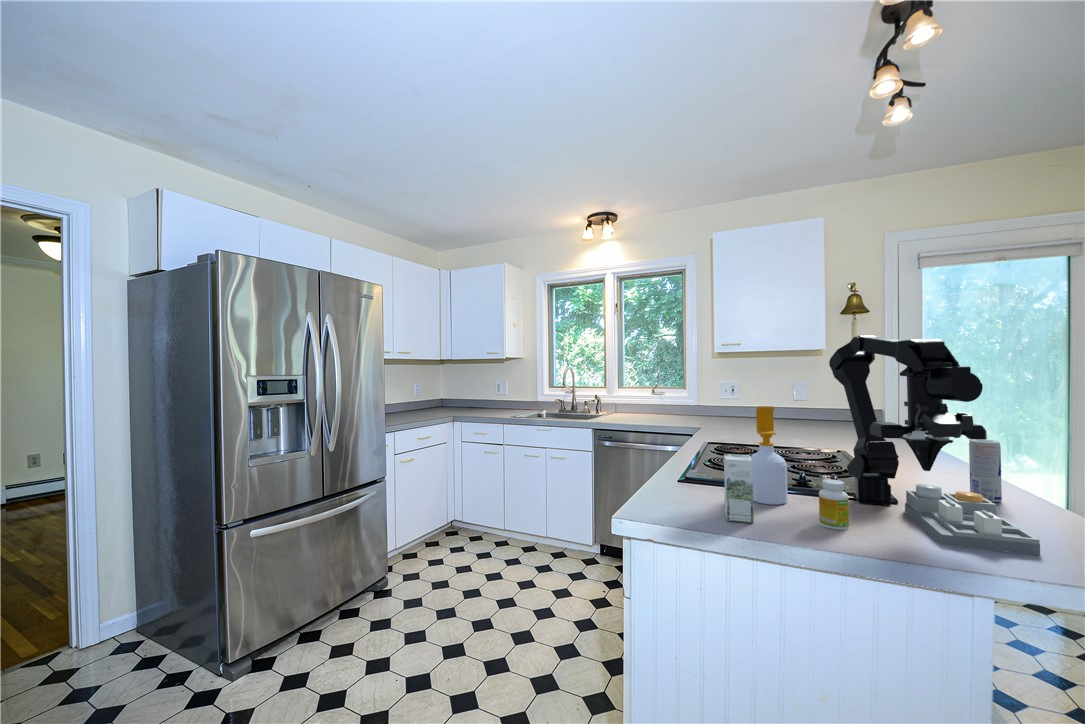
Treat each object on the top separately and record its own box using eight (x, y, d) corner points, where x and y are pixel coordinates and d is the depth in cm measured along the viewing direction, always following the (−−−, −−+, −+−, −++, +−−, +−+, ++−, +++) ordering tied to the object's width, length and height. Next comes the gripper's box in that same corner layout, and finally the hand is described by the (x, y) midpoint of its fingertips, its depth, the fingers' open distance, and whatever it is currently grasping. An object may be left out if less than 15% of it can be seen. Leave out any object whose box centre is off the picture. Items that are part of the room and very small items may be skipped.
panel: (942, 544, 86) (941, 518, 86) (905, 511, 105) (904, 490, 104) (1040, 555, 80) (1039, 528, 80) (982, 518, 99) (982, 495, 99)
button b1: (920, 502, 99) (920, 488, 99) (913, 497, 103) (912, 483, 103) (945, 504, 97) (945, 490, 97) (937, 498, 101) (936, 485, 101)
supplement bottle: (841, 532, 93) (840, 486, 93) (814, 524, 98) (813, 480, 98) (853, 526, 96) (852, 482, 96) (827, 519, 101) (825, 476, 101)
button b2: (961, 510, 96) (960, 496, 96) (951, 504, 100) (951, 490, 100) (987, 513, 95) (987, 498, 95) (977, 506, 99) (976, 492, 99)
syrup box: (751, 515, 104) (749, 454, 104) (754, 524, 99) (752, 459, 99) (725, 513, 106) (723, 453, 106) (726, 522, 101) (725, 458, 101)
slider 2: (984, 536, 84) (984, 515, 84) (974, 528, 88) (973, 508, 88) (1002, 537, 83) (1001, 517, 83) (990, 530, 87) (990, 510, 87)
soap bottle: (749, 503, 113) (747, 407, 113) (747, 493, 121) (745, 403, 121) (789, 507, 109) (787, 407, 109) (784, 496, 118) (782, 404, 118)
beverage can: (1008, 503, 108) (1006, 442, 108) (981, 503, 109) (979, 442, 109) (990, 496, 113) (988, 438, 113) (964, 496, 114) (963, 438, 114)
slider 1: (947, 523, 91) (946, 504, 91) (938, 516, 95) (938, 498, 95) (962, 524, 90) (962, 505, 90) (953, 517, 94) (953, 499, 94)
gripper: (894, 401, 89) (896, 478, 89) (1007, 401, 85) (1009, 482, 85) (867, 397, 100) (869, 466, 100) (966, 396, 96) (968, 468, 96)
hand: (926, 470), depth 95 cm, fingers closed
